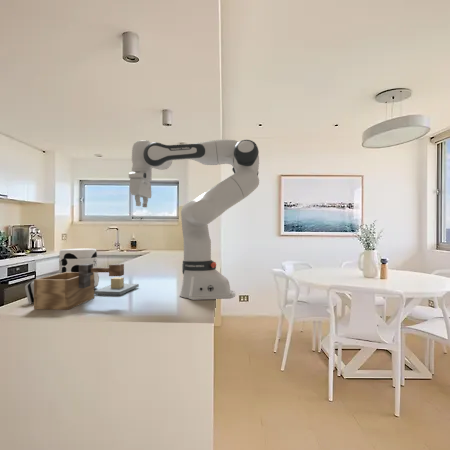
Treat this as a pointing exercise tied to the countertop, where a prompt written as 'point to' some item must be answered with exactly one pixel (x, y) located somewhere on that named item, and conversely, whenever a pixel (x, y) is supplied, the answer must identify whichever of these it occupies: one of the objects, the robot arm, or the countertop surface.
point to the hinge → (31, 291)
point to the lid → (116, 287)
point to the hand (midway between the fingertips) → (141, 206)
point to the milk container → (78, 260)
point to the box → (64, 289)
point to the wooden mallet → (111, 269)
